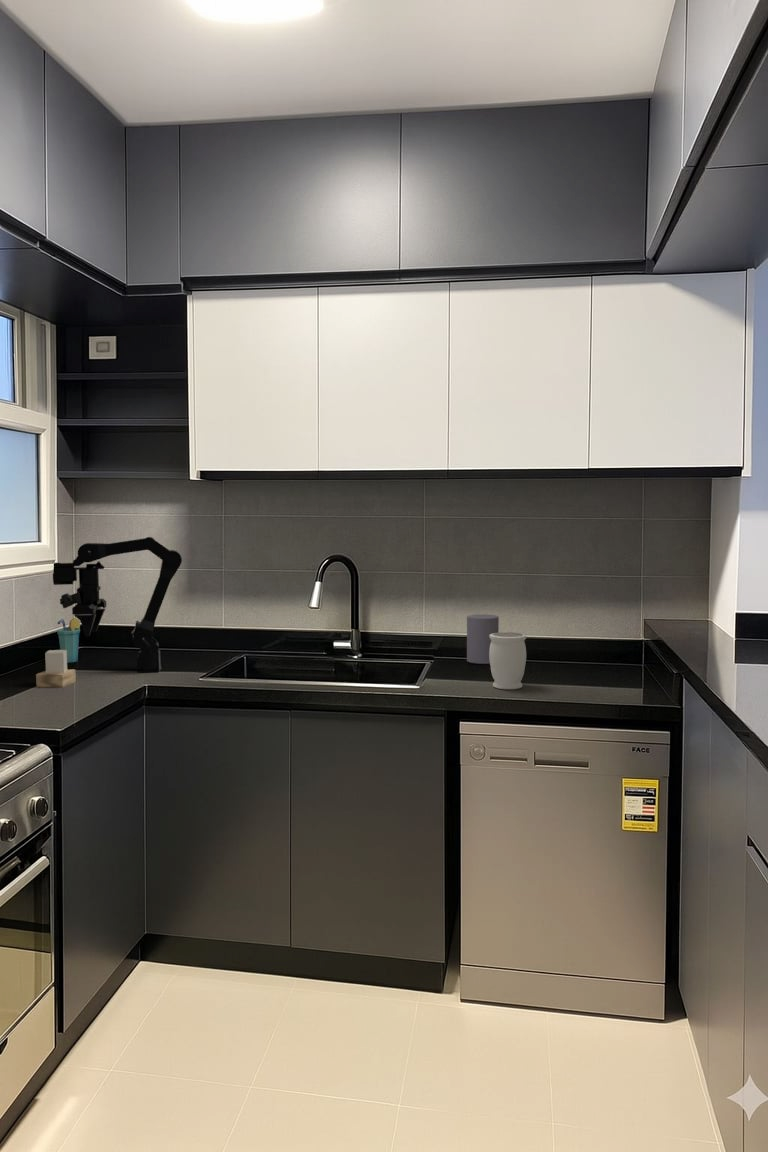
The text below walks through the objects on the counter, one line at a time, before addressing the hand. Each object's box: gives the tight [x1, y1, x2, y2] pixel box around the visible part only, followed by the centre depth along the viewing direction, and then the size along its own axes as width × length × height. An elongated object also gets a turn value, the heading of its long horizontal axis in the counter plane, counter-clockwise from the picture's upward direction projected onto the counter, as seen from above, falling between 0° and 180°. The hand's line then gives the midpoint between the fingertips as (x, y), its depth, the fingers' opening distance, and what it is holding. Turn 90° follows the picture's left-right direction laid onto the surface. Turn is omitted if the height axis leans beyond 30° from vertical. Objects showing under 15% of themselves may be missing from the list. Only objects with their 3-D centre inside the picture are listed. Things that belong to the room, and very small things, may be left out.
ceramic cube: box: [44, 649, 68, 674], centre depth 258 cm, size 5×5×6 cm
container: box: [466, 613, 500, 666], centre depth 288 cm, size 10×10×15 cm
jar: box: [489, 631, 527, 690], centre depth 249 cm, size 11×10×15 cm
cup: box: [56, 617, 81, 664], centre depth 293 cm, size 14×8×15 cm, turn 177°
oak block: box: [35, 668, 77, 688], centre depth 258 cm, size 8×8×4 cm
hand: (90, 634), depth 271 cm, fingers open, 9 cm apart
